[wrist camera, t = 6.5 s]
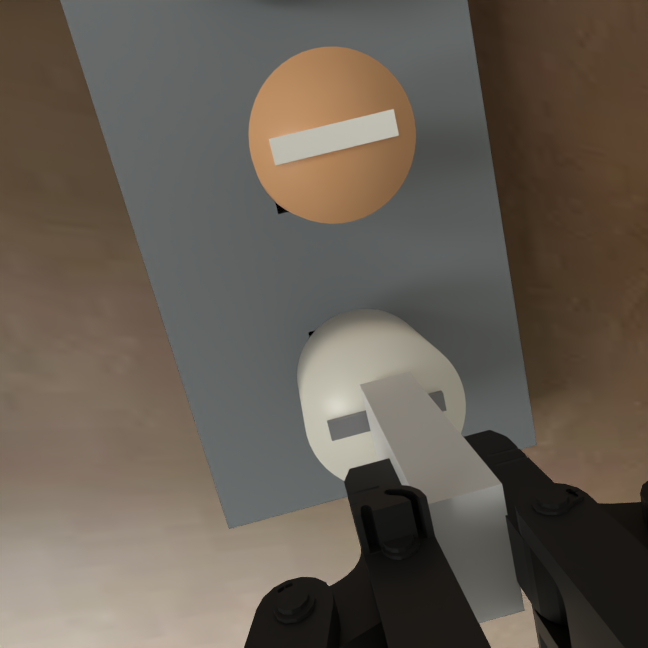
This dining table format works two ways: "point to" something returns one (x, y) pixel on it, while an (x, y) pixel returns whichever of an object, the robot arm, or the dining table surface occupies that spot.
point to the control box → (299, 220)
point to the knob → (362, 367)
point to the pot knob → (332, 135)
